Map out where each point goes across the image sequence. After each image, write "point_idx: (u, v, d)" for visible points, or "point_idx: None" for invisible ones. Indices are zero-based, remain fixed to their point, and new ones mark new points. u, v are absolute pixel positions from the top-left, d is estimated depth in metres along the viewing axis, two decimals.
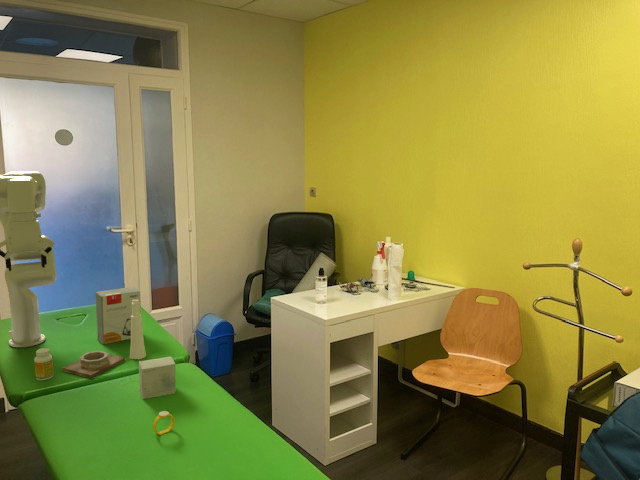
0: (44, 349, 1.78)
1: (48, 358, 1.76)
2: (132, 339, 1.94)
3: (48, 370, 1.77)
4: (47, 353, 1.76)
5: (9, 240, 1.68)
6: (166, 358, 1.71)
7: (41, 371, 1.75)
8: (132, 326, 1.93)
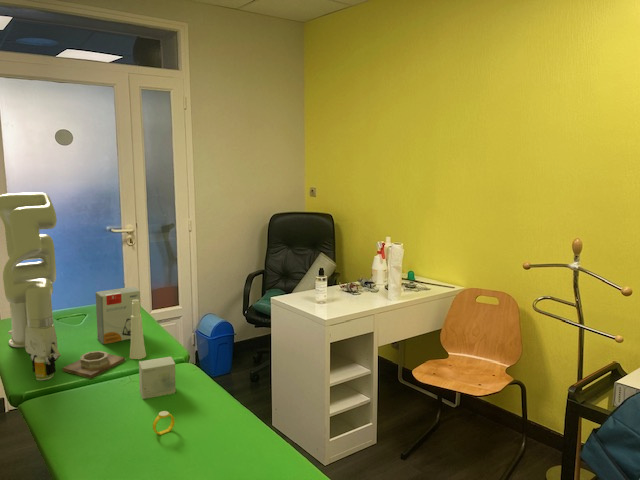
0: None
1: None
2: (132, 339, 1.94)
3: None
4: None
5: None
6: (166, 358, 1.71)
7: (41, 371, 1.75)
8: (132, 326, 1.93)
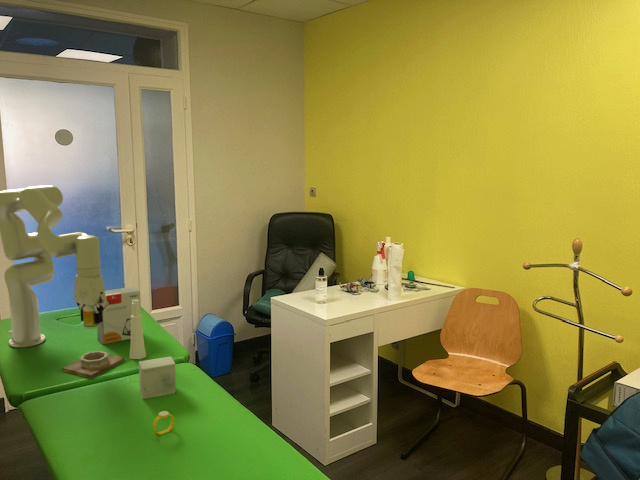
0: None
1: None
2: (132, 339, 1.94)
3: None
4: None
5: None
6: (166, 358, 1.71)
7: (90, 319, 1.82)
8: (132, 326, 1.93)
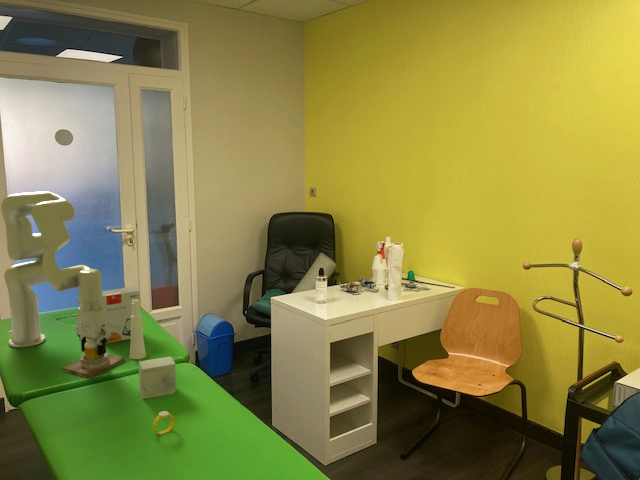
0: None
1: (98, 344, 1.86)
2: (132, 339, 1.94)
3: None
4: (96, 339, 1.86)
5: None
6: (166, 358, 1.71)
7: (91, 356, 1.85)
8: (132, 326, 1.93)
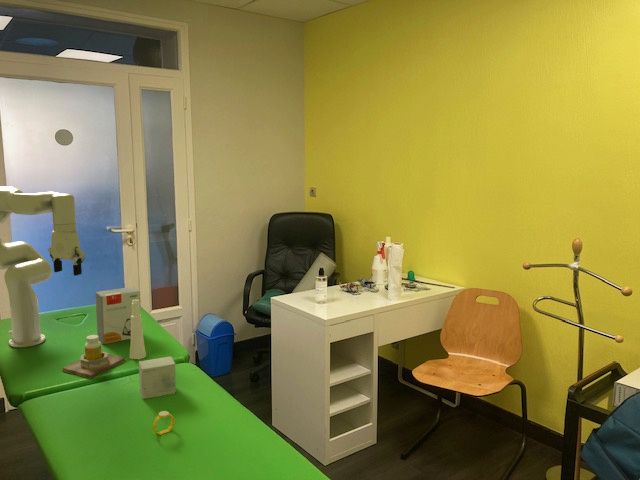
0: (93, 335, 1.87)
1: (98, 344, 1.86)
2: (132, 339, 1.94)
3: (98, 355, 1.86)
4: (97, 339, 1.86)
5: None
6: (166, 358, 1.71)
7: (92, 356, 1.85)
8: (132, 326, 1.93)
